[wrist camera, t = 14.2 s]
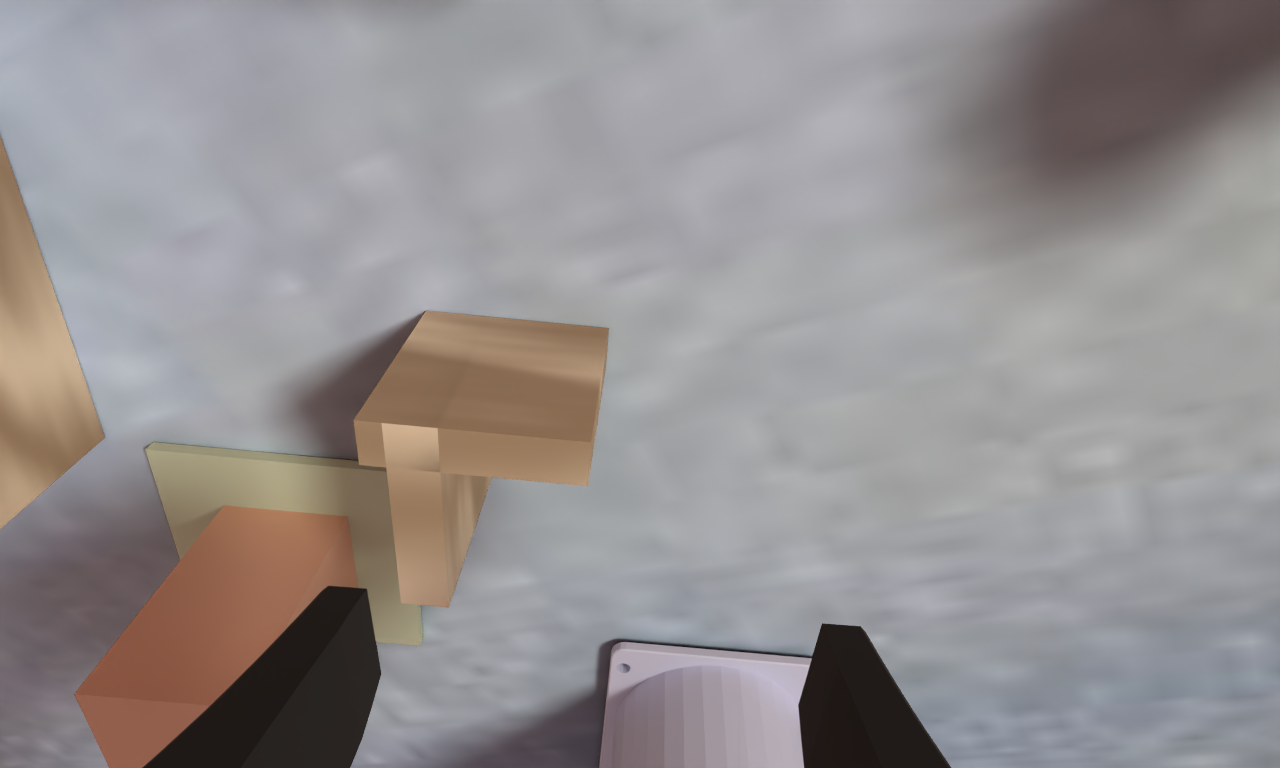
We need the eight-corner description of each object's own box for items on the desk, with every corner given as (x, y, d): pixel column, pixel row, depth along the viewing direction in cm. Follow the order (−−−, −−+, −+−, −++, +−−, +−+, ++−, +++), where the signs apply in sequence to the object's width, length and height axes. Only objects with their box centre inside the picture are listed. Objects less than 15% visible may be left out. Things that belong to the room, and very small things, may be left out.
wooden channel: (597, 482, 23) (579, 618, 19) (66, 434, 23) (-89, 559, 18) (651, -232, 14) (643, -320, 10) (-222, -328, 14) (-676, -467, 9)
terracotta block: (360, 602, 26) (268, 800, 20) (246, 592, 26) (119, 788, 20) (347, 516, 24) (239, 708, 18) (223, 505, 24) (74, 693, 18)
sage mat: (423, 637, 27) (420, 646, 27) (207, 618, 27) (201, 626, 27) (407, 465, 23) (403, 473, 23) (153, 441, 23) (144, 449, 23)
